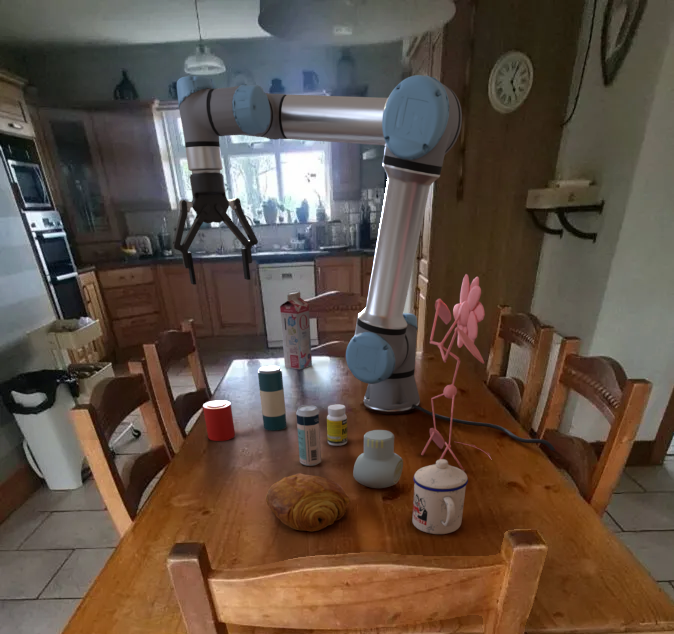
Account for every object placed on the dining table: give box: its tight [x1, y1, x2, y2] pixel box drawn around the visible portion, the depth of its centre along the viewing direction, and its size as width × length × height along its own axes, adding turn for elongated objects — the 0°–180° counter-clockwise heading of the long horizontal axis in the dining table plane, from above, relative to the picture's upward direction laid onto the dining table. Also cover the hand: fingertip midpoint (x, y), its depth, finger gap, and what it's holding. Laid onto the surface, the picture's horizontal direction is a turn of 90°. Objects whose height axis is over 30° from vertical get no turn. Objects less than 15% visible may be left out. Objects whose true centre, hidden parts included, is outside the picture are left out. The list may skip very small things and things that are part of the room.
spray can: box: [257, 365, 288, 432], centre depth 135 cm, size 6×6×14 cm
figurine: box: [420, 273, 492, 472], centre depth 109 cm, size 15×26×35 cm, turn 9°
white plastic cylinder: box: [295, 404, 322, 467], centre depth 117 cm, size 5×5×12 cm
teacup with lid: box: [411, 458, 469, 535], centre depth 93 cm, size 12×9×12 cm
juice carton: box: [279, 291, 313, 370], centre depth 181 cm, size 7×7×22 cm
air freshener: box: [352, 429, 404, 489], centre depth 108 cm, size 11×8×10 cm
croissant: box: [265, 472, 351, 532], centre depth 99 cm, size 14×16×8 cm
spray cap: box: [202, 399, 236, 442], centre depth 133 cm, size 7×7×8 cm
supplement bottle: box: [326, 403, 348, 447], centre depth 127 cm, size 5×5×8 cm
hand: (221, 281), depth 135 cm, fingers open, 13 cm apart
